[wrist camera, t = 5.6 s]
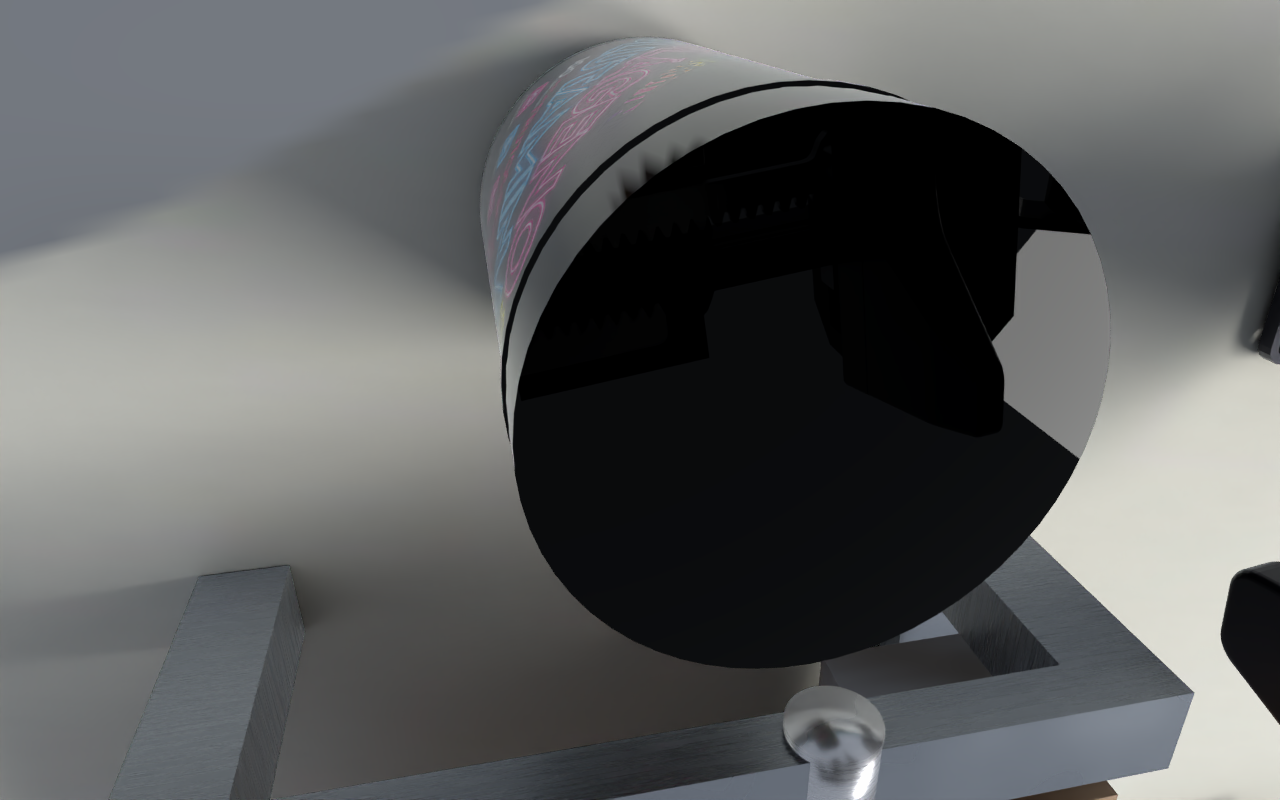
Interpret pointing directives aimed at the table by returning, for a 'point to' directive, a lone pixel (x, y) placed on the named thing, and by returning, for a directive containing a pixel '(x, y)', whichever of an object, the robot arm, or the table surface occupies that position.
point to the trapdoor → (928, 684)
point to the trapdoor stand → (724, 752)
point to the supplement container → (779, 348)
